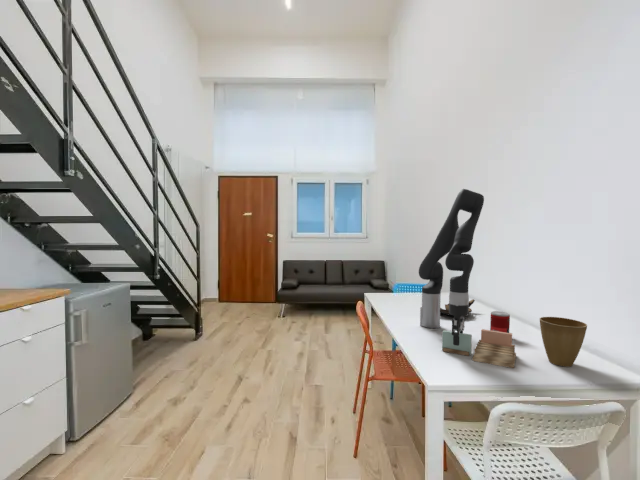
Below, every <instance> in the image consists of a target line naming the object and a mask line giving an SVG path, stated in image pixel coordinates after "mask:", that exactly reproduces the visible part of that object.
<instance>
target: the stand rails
mask: <svg viewBox="0 0 640 480" xmlns="http://www.w3.org/2000/svg"><path fill="white" fill-rule="evenodd" d="M442 352H445V353H451V354H454V355H455V354H456V355H461V356H467V357H470V355H469V352H467V351H461V350H455V349H450V348H444V347H443V350H442Z"/></svg>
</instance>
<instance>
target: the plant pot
mask: <svg viewBox="0 0 640 480" xmlns="http://www.w3.org/2000/svg"><path fill="white" fill-rule="evenodd" d="M539 326H540V333H541V338H542V343H543V347H544V350H545V354H546V356H547V360H548V361H549V363H551V364H553V365H556V366H560V367H566V368H567V367H569V368H570V367H573V365H574V363H575V361H576V360H577V357H578V355H579V353H580V351H581V348H582V346H583V343H584V340H585V336H586V333H587V329H588V324H587V323H585V322H583V321H580V320H576V319H572V318H566V317H557V316H542V317H539Z"/></svg>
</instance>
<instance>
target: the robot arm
mask: <svg viewBox="0 0 640 480" xmlns="http://www.w3.org/2000/svg"><path fill="white" fill-rule="evenodd" d="M484 201H485V197H484V195H483V194H481V193H480V192H476V191H473V190H469V189H466V188H463V189H461V190H460V191H459V192H458V193H457V196H456V197H455V199H454V202H453V204H452V205H451V209H450V210H449V214H448V215H447V218H446V220H445V221H444V223H443V225H442V227H441V229H440V230H439V232H438V234H437V236H436V237H435V240H434V242H433V244H432V245H431V247H430V249H429V251H428V253H427V254H426V255H425V257H424V259H423V260H422V261H421V263H420V265H419V267H418V276H419V277H420V278H421V279H422V280H425V281H428V280H429V281H428V282H427V283H426V284H425V285H423V286H422V287H421V306H420V308H419V309H420V311H419V312H420V313H419V326H421V327H423V328H427V329H428V328H429V329H437V328H438V329H439V328H440V327H441V312H440V308H441V293H442V291H441V290H442V289H443V281H444V266H443V265H442V263H441V262H439V261H440V260H442V258H443V257H444V256H446V258H445V262H444V263H445V268H447V269H448V270H449V271H452V272H453V271H454V272H455V271H456V272H462V274H461V275H458V276H451V278H450V279H449V295H448V304H449V314H451V315H454V316H453V319H452V320H451V332H452V335H453V345H457V346H459V336H460V333H464V329H465V317H467V316H469V314H470V313H469V308H470V307H469V301H470V297H469V284H470V283H469V281H470V277H471V276H470V275H471V272H472V270H473V267H474V263H475V261H474V260H475V259H474V258H473V256H472V255H471V254H469V253H468V252H471V250H472V247H473V246H472V245H473V241H474V234H475V231H476V227H477V225H478V222H479V219H480V216H481V213H482V210H483V207H484ZM460 211H464V212H467V213H469V214H471V215H470V217H469V218H468V219H467V220H466V221H465V222H464V223H462V224H461V225H459V220H458V219H459V218H458V217H459V212H460ZM451 315H450V316H451ZM456 332H457V333H456Z"/></svg>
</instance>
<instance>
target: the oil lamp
mask: <svg viewBox="0 0 640 480" xmlns="http://www.w3.org/2000/svg"><path fill="white" fill-rule="evenodd" d="M475 301H476V300H475V298H474V299H471V300H469V314H471V313H472V312H473V311H472V308H471V306H472V305H473V304H474V303H475ZM444 308H445V309H443V308H442V307H440V314H444V315H447V316H451V317H454V315H451V314H449V303H448V304H444Z"/></svg>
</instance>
